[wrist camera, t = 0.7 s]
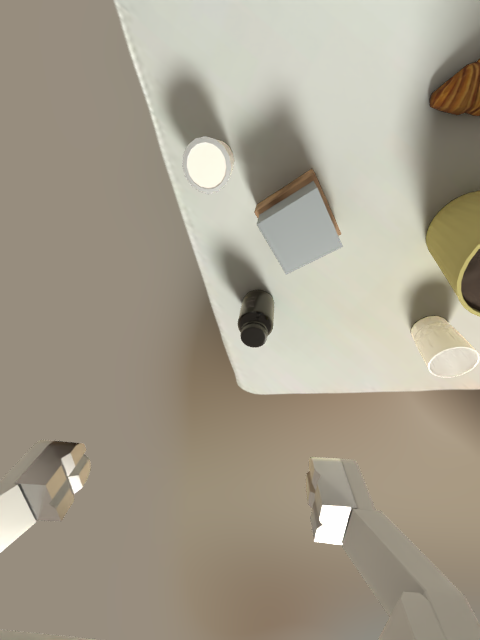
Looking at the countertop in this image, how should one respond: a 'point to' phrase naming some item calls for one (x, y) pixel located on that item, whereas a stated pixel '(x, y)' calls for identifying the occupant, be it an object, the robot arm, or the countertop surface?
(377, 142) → the countertop surface
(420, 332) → the white cup
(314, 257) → the top block
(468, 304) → the potted cactus
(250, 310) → the supplement bottle
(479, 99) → the croissant
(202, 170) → the white piece
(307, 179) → the bottom block
